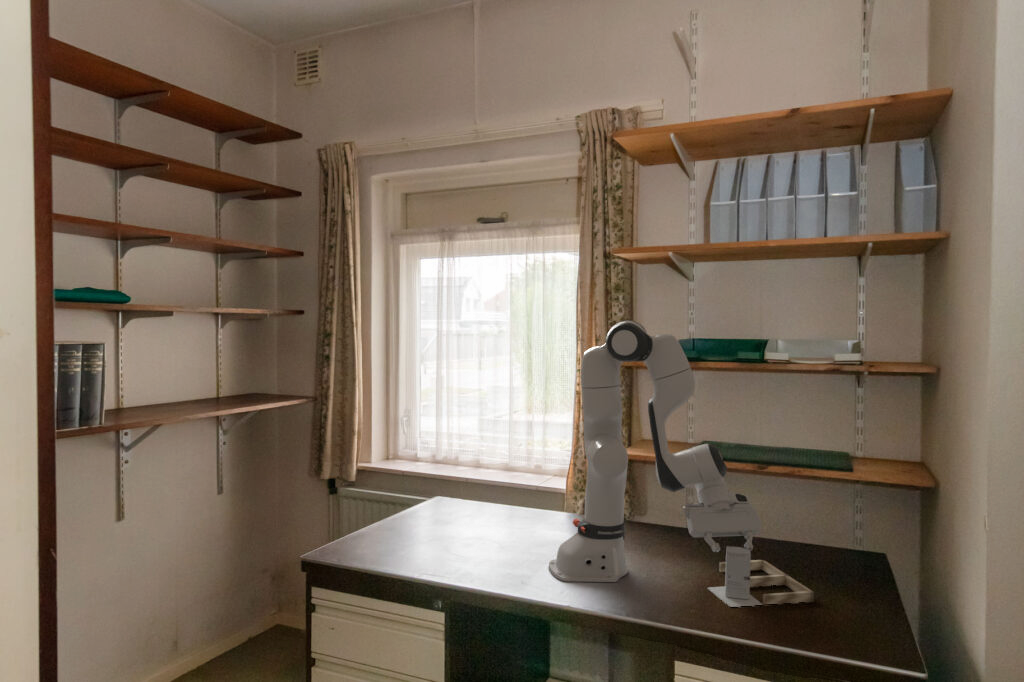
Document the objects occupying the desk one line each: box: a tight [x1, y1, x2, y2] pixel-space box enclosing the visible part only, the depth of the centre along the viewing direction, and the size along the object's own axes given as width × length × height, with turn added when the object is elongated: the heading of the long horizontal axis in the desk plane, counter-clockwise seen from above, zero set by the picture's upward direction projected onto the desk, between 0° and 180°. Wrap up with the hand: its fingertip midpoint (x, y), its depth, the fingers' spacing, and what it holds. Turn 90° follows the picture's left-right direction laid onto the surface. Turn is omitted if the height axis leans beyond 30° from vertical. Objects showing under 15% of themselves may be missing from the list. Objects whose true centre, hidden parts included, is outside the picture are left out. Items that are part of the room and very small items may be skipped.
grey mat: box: [706, 585, 764, 608], centre depth 174 cm, size 9×12×1 cm
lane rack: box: [718, 559, 815, 605], centre depth 182 cm, size 14×23×2 cm, turn 12°
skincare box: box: [724, 545, 752, 599], centre depth 174 cm, size 6×4×12 cm
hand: (733, 550), depth 175 cm, fingers open, 8 cm apart
